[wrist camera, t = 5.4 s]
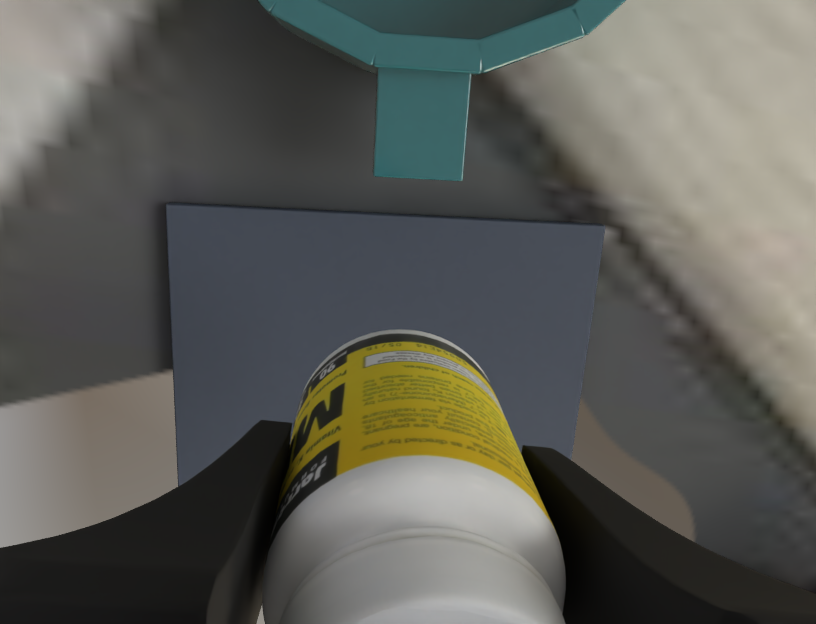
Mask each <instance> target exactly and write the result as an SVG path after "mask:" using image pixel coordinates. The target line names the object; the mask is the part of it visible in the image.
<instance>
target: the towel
mask: <svg viewBox="0 0 816 624" xmlns="http://www.w3.org/2000/svg"><path fill="white" fill-rule="evenodd" d="M166 225H167V247H168V269H169V291H170V314H171V336H172V358H173V380H174V402H175V423H176V424H175V425H176V447H177V467H178V468H177V469H178V486H180V485H182V484H183V483H185V482H187V481H188V480H190V479H191V478H192V477H194V476H195V475H197V474H198V473H199V472H201V471H202V470H203V469H205V468H206V467H208V466H209V465H210V464H211V463H213V462H214V461H215V460H216V459H218V458H219V457H220V456H221V455H222V454H224V453H225V452H226V451H227V450H228V449H229V448H231V447H232V446H233V445H234V444H235V443H236V442H237V441H238V440H239V439H241V438H242V437H243V436H244V435H245V434H246V433H247V432H248V431H249V430H250V429H251V428H252V427H253V426H254V425H255V424H256V423H258V422H259V421H260V420H269V421H279V422H289V423H292V430H291V439H292V434H293V427H294V422H295V418H296V414H297V410H298V405H299V402H300V399H301V396H302V393H303V391H304V388H305V386H306V384H307V382H308V381H309V379H310V377H311V376H312V374H313V373H314V372H315V370H316V369H317V368H318V366H319V365H320V364H321V363H322V362H323V361H324V360H325V359H326V358H327V357H328V356H329V355H330V354H332V353H333V352H334V351H335V350H337V349H338V348H340V347H341V346H343V345H344V344H346V343H348V342H350V341H352V340H354V339H356V338H358V337H361V336H364V335H367V334H370V333H374V332H378V331H385V330H398V329H401V330H415V331H421V332H426V333H430V334H433V335H436V336H438V337H441V338H443V339H445V340H448V341H450V342H451V343H453V344H455V345H456V346H458V347H459V348H461V349H462V350H463V351H465V352H466V353H467V354H468V355H469V356H471V357H472V358H473V360H474V361H475V362H476V363H477V364H478V365H479V366H480V368H481V369H482V370H483V372H484V373H485V375H486V376H487V378H488V380H489V382H490V384H491V386H492V388H493V390H494V392H495V394H496V397H497V399H498V401H499V404H500V406H501V409H502V411H503V414H504V416H505V418H506V420H507V423H508V425H509V427H510V430H511V432H512V434H513V437H514V439H515V441H516V444H517V446H518V448H519V451H520V453H521V451H522V447H523V445H527V446H537V447H548V448H553V449H555V450H556V451H558V452H560V453H561V454H563V455H564V456H566V457H567V458H569V459H570V460H571V457H572V451H573V444H574V437H575V430H576V423H577V417H578V410H579V403H580V396H581V389H582V383H583V376H584V369H585V362H586V355H587V348H588V342H589V335H590V328H591V321H592V314H593V308H594V301H595V294H596V287H597V280H598V274H599V267H600V260H601V253H602V246H603V239H604V233H605V226H604V225H602V224H593V223H573V222H553V221H533V220H513V219H492V218H472V217H452V216H432V215H412V214H392V213H372V212H352V211H332V210H311V209H291V208H271V207H251V206H231V205H211V204H191V203H171V202H170V203H167V204H166ZM290 443H291V440H290Z"/></svg>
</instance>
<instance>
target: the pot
mask: <svg viewBox="0 0 816 624" xmlns="http://www.w3.org/2000/svg"><path fill="white" fill-rule="evenodd" d="M257 1H258V2H259V3H260V4H261V5H262V6H263V8H264V9H265V10H266V11H267V12H268V13H269V14H270V15H271V16H272V17H273V18H274V19H275V20H276V21H277V22H279V23H280V24H281V25H282V26H283V27H284V28H285V29H287V30H288V31H289V32H291V33H293V34H295V35H297V36H299V37H301V38H303V39H305V40H306V41H308V42H310V43H312V44H314V45H316V46H318V47H320V48H322V49H324V50H325V51H327V52H329V53H331V54H333V55H336V56H338V57H340V58H342V59H343V60H345V61H347V62H349V63H351V64H353V65H355V66H357V67H359V68H361V69H363V70H365V71H367V72H370V71H371V73H373V74H377V85H376V108H375V130H374V153H373V175H374V176H375V177H392V178H411V179H429V180H448V181H462V180H463V171H464V159H465V147H466V135H467V123H468V111H469V99H470V87H471V76H475V75H479V74H483V73H487V72H489V71H492V70H495V69H498V68H500V67H503V66H506V65H509V64H511V63H514V62H517V61H520V60H523V59H525V58H528V57H531V56H534V55H536V54H539V53H542V52H545V51H547V50H550V49H553V48H556V47H558V46H561V45H564V44H567V43H569V42H572V41H575V40H578V39H580V38H583V37H584V36H585V35H588V34H589V33H591V32H592V31H593V30H594V29H595V28H596V27H597V26H598V25H599V24H601V23H602V22H603V21H604V20H605V19H606V18H607V17H608V16H609V15H610V14H612V13H613V12H614V11H615V10H616V9H617V8H618V7H619V6H620V5H622V4H623V3H624V2H625V1H626V0H257Z"/></svg>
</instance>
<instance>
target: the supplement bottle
mask: <svg viewBox="0 0 816 624" xmlns="http://www.w3.org/2000/svg"><path fill="white" fill-rule="evenodd" d="M565 592H566V572H565V564H564V558H563V553H562V548H561V544H560V541H559V538H558V535H557V533H556V530H555V528H554V526H553V523H552V521H551V519H550V517H549V515H548V513H547V511H546V508H545V506H544V504H543V502H542V500H541V498H540V495H539V493H538V491H537V488H536V486H535V484H534V482H533V480H532V478H531V475H530V473H529V471H528V469H527V467H526V465H525V462H524V460H523V457H522V455H521V453H520V451H519V448H518V446H517V444H516V441H515V439H514V437H513V434H512V432H511V430H510V427H509V425H508V423H507V420H506V418H505V416H504V414H503V411H502V409H501V406H500V404H499V401H498V399H497V397H496V394H495V392H494V390H493V388H492V386H491V384H490V382H489V380H488V378H487V376H486V375H485V373H484V372H483V370H482V369H481V368H480V366H479V365H478V364H477V363H476V362H475V361H474V360H473V358H472V357H471V356H469V355H468V354H467V353H466V352H465V351H463V350H462V349H461V348H459V347H458V346H456V345H455V344H453V343H451V342H450V341H448V340H445V339H443V338H441V337H438V336H436V335H433V334H430V333H426V332H421V331H415V330H401V329H398V330H385V331H378V332H374V333H370V334H367V335H364V336H361V337H358V338H356V339H354V340H352V341H350V342H348V343H346V344H344V345H343V346H341V347H340V348H338V349H337V350H335V351H334V352H333V353H332V354H330V355H329V356H328V357H327V358H326V359H325V360H324V361H323V362H322V363H321V364H320V365H319V366H318V368H317V369H316V370H315V372H314V373H313V374H312V376H311V377H310V379H309V381H308V382H307V384H306V386H305V388H304V391H303V393H302V396H301V399H300V402H299V405H298V410H297V414H296V418H295V422H294V427H293V434H292V439H291V443H290V449H289V455H288V459H287V464H286V469H285V474H284V479H283V482H282V486H281V490H280V493H279V499H278V505H277V509H276V515H275V519H274V524H273V527H272V533H271V538H270V542H269V546H268V549H267V554H266V561H265V566H264V573H263V583H262V606H263V615H264V621H265V624H565V621H564V618H563V615H562V613H563V608H564V601H565Z"/></svg>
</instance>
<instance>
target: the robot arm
mask: <svg viewBox="0 0 816 624" xmlns="http://www.w3.org/2000/svg"><path fill="white" fill-rule="evenodd" d="M291 430H292V423H289V422H279V421H269V420H260V421H259V422H258V423H256V424H255V425H254V426H253V427H252V428H251V429H250V430H249V431H248V432H247V433H246V434H245V435H244V436H243V437H242V438H241V439H239V440H238V441H237V442H236V443H235V444H234V445H233V446H232V447H231V448H229V449H228V450H227V451H226V452H225V453H224V454H222V455H221V456H220V457H219V458H218V459H216V460H215V461H214V462H213V463H211V464H210V465H209V466H208V467H206V468H205V469H203V470H202V471H201V472H199V473H198V474H197V475H195V476H194V477H192V478H191V479H190V480H188V481H187V482H185V483H183V484H182V485H180V486H178V487H177V488H175V489H173V490H172V491H170V492H168V493H166V494H164V495H162V496H161V497H159V498H157V499H155V500H153V501H151V502H149V503H146V504H144V505H142V506H140V507H138V508H135V509H133V510H130V511H128V512H126V513H124V514H121V515H119V516H117V517H114V518H112V519H109V520H106V521H103V522H101V523H98V524H95V525H92V526H89V527H86V528H82V529H79V530H76V531H72V532H69V533H66V534H62V535H59V536H54V537H50V538H45V539H41V540H36V541H32V542H27V543H23V544H18V545H13V546H8V547H3V548H0V624H256V623H257V619H258V616H259V612H260V609H261V606H262V583H263V573H264V566H265V561H266V554H267V549H268V546H269V542H270V538H271V533H272V527H273V524H274V519H275V515H276V509H277V505H278V499H279V493H280V490H281V486H282V482H283V479H284V474H285V469H286V464H287V459H288V455H289V449H290V440H291ZM521 455H522V457H523V460H524V462H525V465H526V467H527V469H528V471H529V473H530V475H531V478H532V480H533V482H534V484H535V486H536V488H537V491H538V493H539V495H540V498H541V500H542V502H543V504H544V506H545V508H546V511H547V513H548V515H549V517H550V519H551V521H552V523H553V526H554V528H555V530H556V533H557V535H558V538H559V541H560V544H561V548H562V553H563V558H564V564H565V572H566V592H565V601H564V608H563V613H562V615H563V618H564V621H565V624H816V594H815V593H812V592H809V591H807V590H804V589H801V588H798V587H795V586H793V585H790V584H787V583H784V582H782V581H779V580H776V579H774V578H771V577H769V576H766V575H764V574H761V573H759V572H756V571H754V570H751V569H749V568H747V567H745V566H742V565H740V564H738V563H736V562H733V561H731V560H729V559H727V558H725V557H722V556H720V555H718V554H716V553H714V552H712V551H710V550H708V549H706V548H704V547H702V546H700V545H698V544H696V543H695V542H693V541H691V540H689V539H687V538H685V537H684V536H682V535H680V534H678V533H676V532H675V531H673V530H671V529H669V528H668V527H666V526H664V525H663V524H661V523H659V522H658V521H656V520H655V519H653V518H652V517H650V516H648V515H647V514H645V513H644V512H642V511H641V510H639V509H638V508H636V507H635V506H633V505H632V504H630V503H629V502H627V501H626V500H625V499H623V498H622V497H620V496H619V495H617V494H616V493H615V492H613V491H612V490H611V489H609V488H608V487H606V486H605V485H604V484H602V483H601V482H600V481H598V480H597V479H596V478H594V477H593V476H591V475H590V474H589V473H588V472H586V471H585V470H584V469H582V468H581V467H580V466H578V465H577V464H575V463H574V462H573V461H571V460H570V459H569V458H567V457H566V456H564V455H563V454H561V453H560V452H558V451H556V450H555V449H553V448H548V447H537V446H527V445H523V447H522V451H521Z"/></svg>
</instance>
